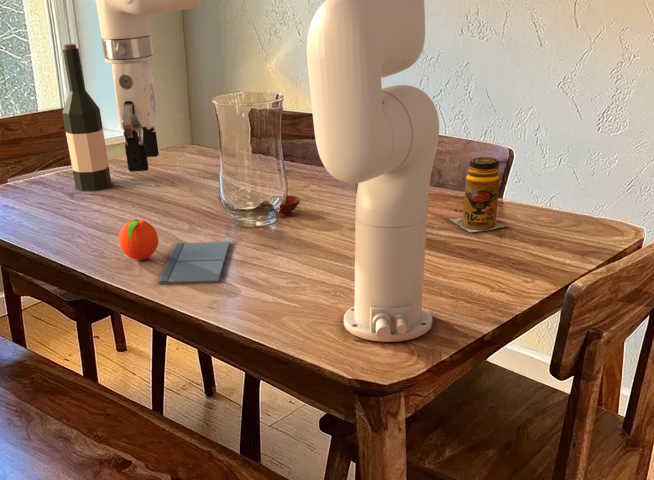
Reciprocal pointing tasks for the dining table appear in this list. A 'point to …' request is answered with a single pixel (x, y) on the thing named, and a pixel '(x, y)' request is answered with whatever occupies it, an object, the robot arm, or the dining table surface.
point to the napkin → (195, 263)
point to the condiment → (481, 196)
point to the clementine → (138, 239)
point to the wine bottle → (84, 129)
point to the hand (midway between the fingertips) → (144, 163)
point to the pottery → (285, 206)
